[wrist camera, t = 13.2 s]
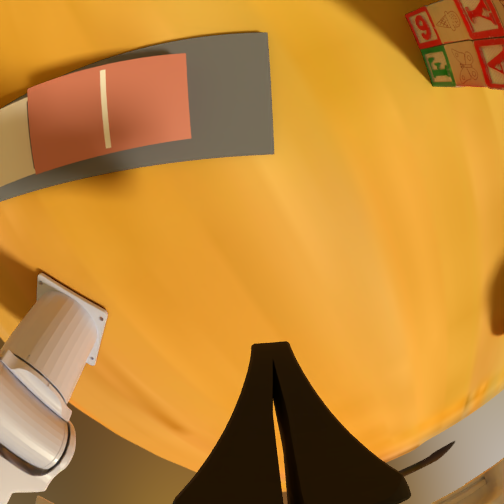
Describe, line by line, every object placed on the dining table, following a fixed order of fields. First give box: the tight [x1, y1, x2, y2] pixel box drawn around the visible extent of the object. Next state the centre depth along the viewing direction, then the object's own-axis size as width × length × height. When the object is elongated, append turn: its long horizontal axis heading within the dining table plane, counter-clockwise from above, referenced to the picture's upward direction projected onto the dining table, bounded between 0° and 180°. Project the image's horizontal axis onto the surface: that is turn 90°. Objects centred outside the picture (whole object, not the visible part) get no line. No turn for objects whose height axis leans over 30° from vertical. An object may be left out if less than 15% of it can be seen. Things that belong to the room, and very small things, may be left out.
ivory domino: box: [0, 97, 35, 187], centre depth 12 cm, size 2×5×9 cm
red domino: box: [27, 53, 191, 175], centre depth 12 cm, size 2×5×9 cm
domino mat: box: [0, 33, 274, 202], centre depth 14 cm, size 28×8×1 cm, turn 93°
